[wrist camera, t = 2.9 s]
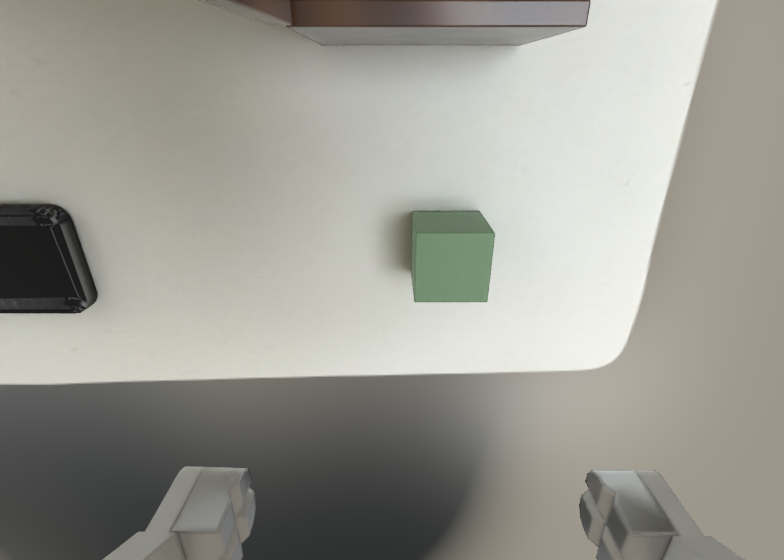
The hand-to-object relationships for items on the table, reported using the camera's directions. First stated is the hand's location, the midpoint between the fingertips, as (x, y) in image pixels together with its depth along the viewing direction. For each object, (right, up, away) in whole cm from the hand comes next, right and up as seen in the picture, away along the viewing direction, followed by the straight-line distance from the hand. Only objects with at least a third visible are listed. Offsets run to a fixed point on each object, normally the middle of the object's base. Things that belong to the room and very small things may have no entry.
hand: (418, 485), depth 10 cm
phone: (-30, +7, +20) cm, 36 cm away
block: (+3, +8, +19) cm, 21 cm away
